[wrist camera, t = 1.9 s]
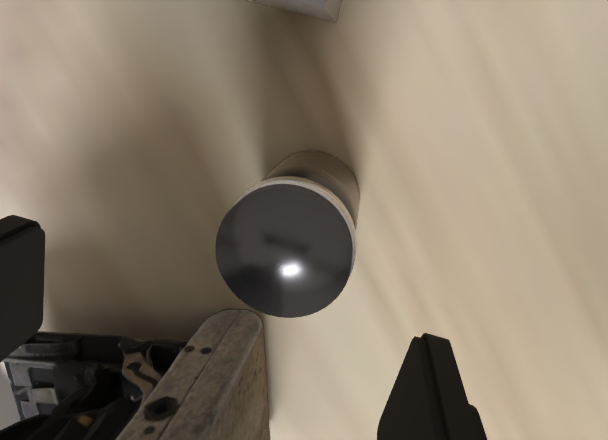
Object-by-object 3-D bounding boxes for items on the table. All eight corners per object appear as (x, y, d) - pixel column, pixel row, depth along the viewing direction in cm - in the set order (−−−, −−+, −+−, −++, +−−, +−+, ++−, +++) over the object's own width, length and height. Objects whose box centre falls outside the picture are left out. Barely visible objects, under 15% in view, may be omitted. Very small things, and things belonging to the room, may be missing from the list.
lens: (373, 164, 22) (373, 210, 15) (346, 254, 24) (332, 336, 16) (276, 137, 22) (226, 168, 15) (256, 228, 24) (202, 296, 17)
